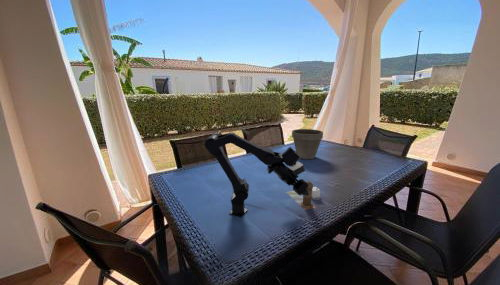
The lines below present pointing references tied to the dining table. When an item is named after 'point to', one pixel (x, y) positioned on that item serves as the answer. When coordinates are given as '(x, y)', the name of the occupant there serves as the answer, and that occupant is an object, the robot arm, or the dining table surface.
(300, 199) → the board
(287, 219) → the dining table surface
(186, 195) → the dining table surface
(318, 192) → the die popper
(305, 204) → the pawn
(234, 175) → the robot arm
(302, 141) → the plant pot
